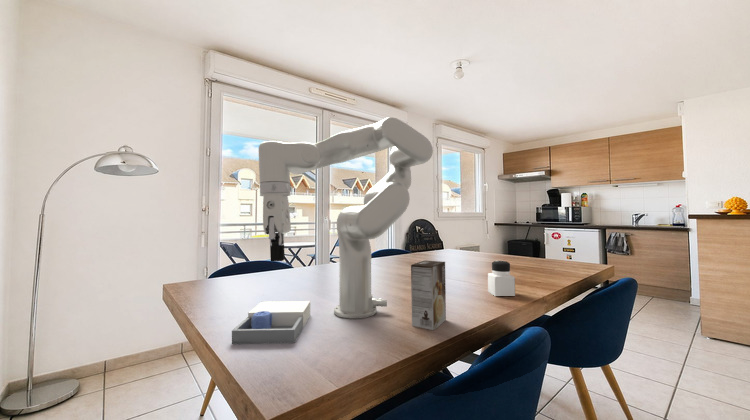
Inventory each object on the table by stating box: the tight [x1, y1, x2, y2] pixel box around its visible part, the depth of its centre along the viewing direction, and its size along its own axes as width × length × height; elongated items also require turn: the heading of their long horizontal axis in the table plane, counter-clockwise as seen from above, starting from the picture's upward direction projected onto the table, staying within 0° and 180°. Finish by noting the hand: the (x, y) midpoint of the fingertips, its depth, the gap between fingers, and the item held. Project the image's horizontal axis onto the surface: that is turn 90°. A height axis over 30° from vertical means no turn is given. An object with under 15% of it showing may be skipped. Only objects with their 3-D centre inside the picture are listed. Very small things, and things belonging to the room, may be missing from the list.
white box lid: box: [247, 300, 311, 328], centre depth 83 cm, size 14×10×4 cm
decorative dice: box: [251, 311, 272, 329], centre depth 75 cm, size 4×4×4 cm
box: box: [231, 316, 304, 345], centre depth 73 cm, size 14×9×3 cm, turn 92°
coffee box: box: [410, 259, 447, 331], centre depth 81 cm, size 9×6×16 cm
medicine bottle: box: [487, 260, 516, 297], centre depth 110 cm, size 7×7×12 cm
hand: (277, 260), depth 79 cm, fingers closed
